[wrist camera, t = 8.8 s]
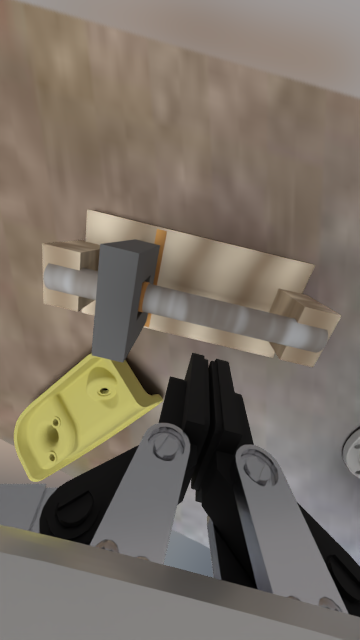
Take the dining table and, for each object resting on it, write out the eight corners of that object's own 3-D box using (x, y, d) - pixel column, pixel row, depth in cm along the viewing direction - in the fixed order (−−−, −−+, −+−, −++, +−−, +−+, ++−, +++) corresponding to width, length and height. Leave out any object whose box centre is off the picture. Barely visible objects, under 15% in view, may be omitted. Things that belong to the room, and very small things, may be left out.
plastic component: (100, 344, 26) (146, 418, 24) (132, 339, 33) (169, 397, 31) (4, 426, 31) (35, 494, 29) (49, 407, 38) (77, 460, 36)
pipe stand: (312, 264, 23) (370, 280, 15) (272, 352, 27) (302, 399, 20) (89, 209, 23) (34, 198, 15) (83, 307, 27) (38, 337, 19)
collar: (160, 245, 21) (139, 253, 13) (146, 321, 24) (123, 362, 16) (135, 239, 21) (100, 243, 13) (124, 316, 24) (91, 355, 16)
